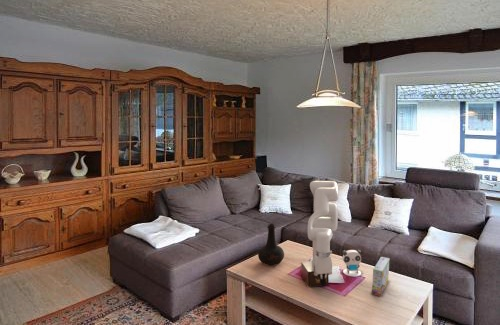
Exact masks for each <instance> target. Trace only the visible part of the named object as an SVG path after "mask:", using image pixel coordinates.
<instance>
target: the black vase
mask: <svg viewBox="0 0 500 325" xmlns="http://www.w3.org/2000/svg"><path fill="white" fill-rule="evenodd" d="M276 228H277V227H276V225H275V224H274V223H268V225H267V238H266V239H267V240H266V243H265V244H264V245H263V246H261V247H260V248H259V250H258V252H257V257H258V260H259V261H260V262H261V263H262V264H263V265H265V266H270V267H273V266H278V265H280V263H282V261H283V260H284V258H285V252H284V249H283V248H282V247H281V246H280V245H277V241H276V231H275V230H276Z"/></svg>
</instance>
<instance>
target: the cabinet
mask: <svg viewBox="0 0 500 325" xmlns="http://www.w3.org/2000/svg"><path fill="white" fill-rule="evenodd" d="M313 264H314V261H310V260H305V261H301V262H300V266H301V267H300V270H301V271H300V273H301V274H300V276H301V278H302V279H303V281H304V283H305V284H306V286H307V287H308V288H312V287H314V286H309V273H314V270H313ZM323 286H325V285H323ZM323 286H322V285H320V286H319V287H323Z"/></svg>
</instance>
